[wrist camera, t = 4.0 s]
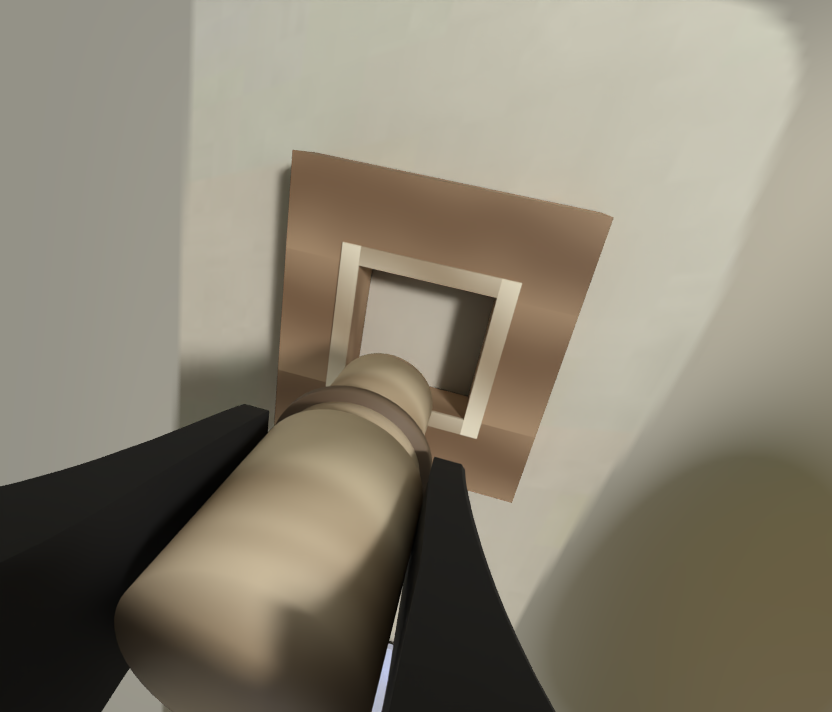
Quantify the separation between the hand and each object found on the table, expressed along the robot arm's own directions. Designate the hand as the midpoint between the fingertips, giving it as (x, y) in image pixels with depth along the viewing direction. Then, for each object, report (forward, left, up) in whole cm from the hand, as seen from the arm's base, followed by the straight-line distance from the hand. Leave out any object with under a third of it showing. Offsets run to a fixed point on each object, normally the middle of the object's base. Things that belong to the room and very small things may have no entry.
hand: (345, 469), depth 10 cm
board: (0, 0, -10) cm, 10 cm away
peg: (0, 0, -4) cm, 4 cm away
